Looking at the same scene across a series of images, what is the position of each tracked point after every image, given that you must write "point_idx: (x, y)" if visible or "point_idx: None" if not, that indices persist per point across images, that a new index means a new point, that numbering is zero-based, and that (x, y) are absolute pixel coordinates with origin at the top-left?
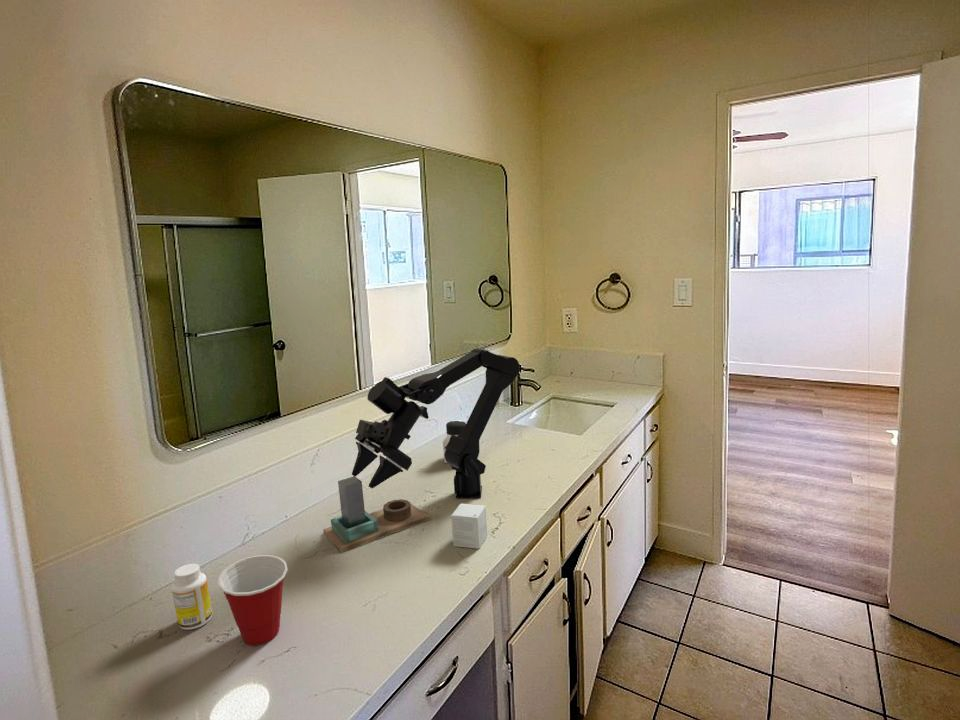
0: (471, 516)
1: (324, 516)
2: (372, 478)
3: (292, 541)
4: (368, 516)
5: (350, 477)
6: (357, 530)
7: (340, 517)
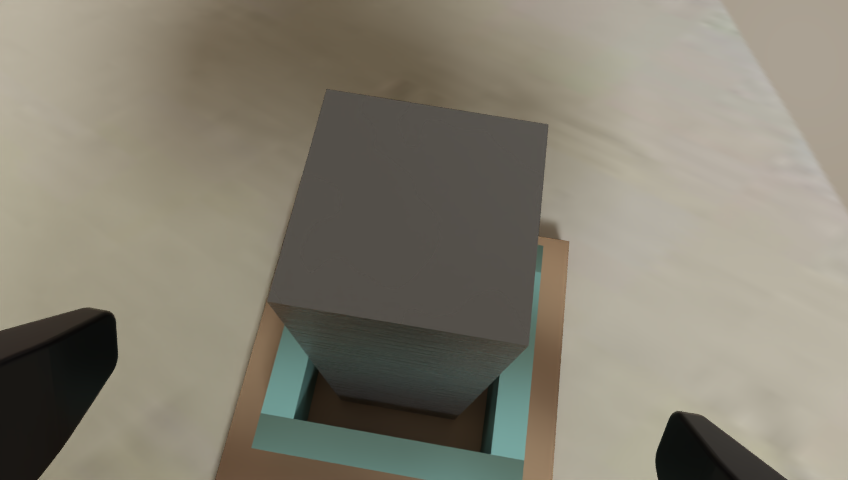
0: None
1: (770, 366)
2: (4, 352)
3: (600, 119)
4: (369, 443)
5: (530, 283)
6: None
7: None
